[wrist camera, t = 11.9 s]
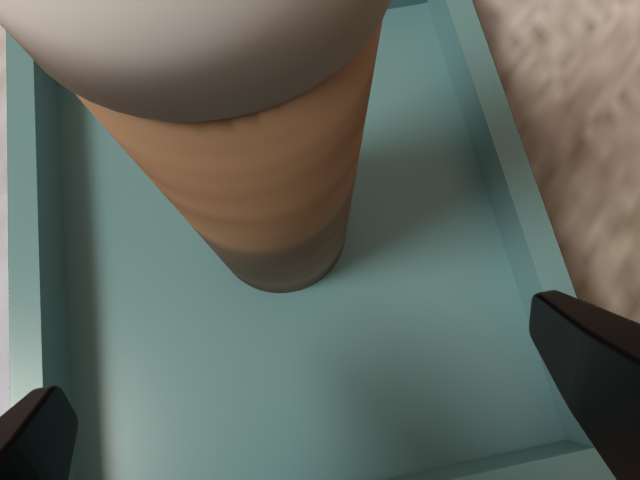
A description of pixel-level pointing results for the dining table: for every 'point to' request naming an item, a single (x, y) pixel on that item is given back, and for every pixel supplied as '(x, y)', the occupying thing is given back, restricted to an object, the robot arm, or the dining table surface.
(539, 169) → the dining table surface
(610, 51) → the dining table surface
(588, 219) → the dining table surface
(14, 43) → the tray
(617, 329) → the robot arm
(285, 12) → the shaker
